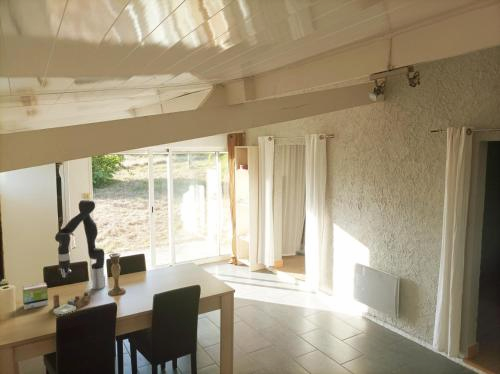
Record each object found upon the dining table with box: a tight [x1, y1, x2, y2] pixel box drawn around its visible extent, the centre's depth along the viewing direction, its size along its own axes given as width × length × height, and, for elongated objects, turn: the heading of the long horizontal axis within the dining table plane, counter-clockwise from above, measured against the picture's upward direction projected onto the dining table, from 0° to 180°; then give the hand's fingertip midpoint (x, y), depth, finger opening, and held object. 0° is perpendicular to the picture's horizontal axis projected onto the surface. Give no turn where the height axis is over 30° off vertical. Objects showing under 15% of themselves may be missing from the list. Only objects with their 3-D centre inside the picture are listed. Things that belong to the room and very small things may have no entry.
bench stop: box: [74, 291, 91, 310], centre depth 266 cm, size 12×3×8 cm, turn 157°
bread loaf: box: [52, 294, 61, 309], centre depth 262 cm, size 4×4×9 cm
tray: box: [53, 303, 77, 315], centre depth 255 cm, size 10×10×3 cm
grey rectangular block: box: [67, 295, 81, 306], centre depth 268 cm, size 10×7×4 cm
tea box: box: [22, 282, 49, 310], centre depth 266 cm, size 15×10×15 cm
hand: (65, 281), depth 271 cm, fingers closed
